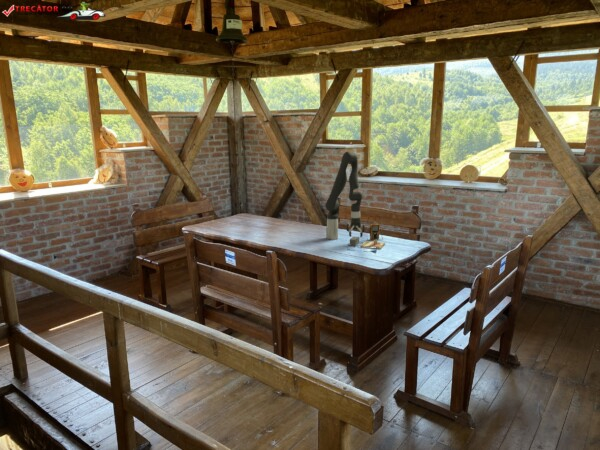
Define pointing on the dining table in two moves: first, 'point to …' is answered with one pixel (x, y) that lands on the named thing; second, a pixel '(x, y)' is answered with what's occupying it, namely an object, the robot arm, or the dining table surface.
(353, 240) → the block
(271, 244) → the dining table surface
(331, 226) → the robot arm
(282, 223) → the dining table surface
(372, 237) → the multimeter
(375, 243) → the board
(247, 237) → the dining table surface
